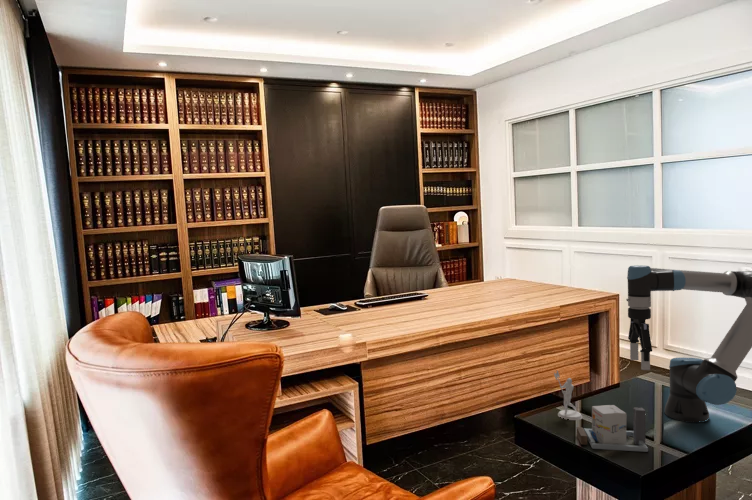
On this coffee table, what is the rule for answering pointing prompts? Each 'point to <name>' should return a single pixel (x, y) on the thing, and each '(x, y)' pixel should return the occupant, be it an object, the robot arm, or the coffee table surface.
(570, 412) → the figurine
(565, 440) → the coffee table surface
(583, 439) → the lane end block
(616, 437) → the ink box
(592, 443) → the sled
